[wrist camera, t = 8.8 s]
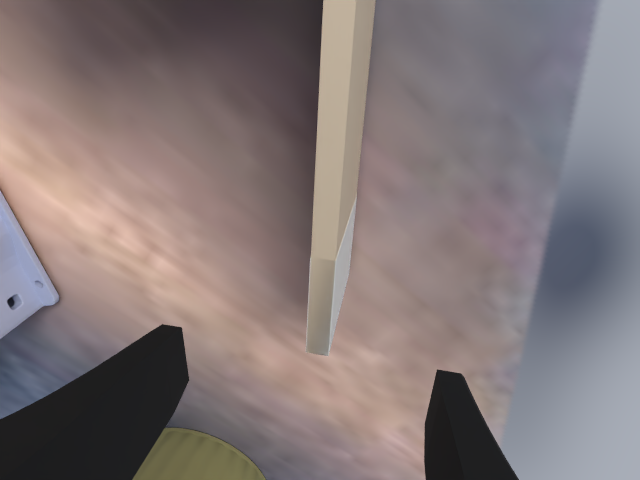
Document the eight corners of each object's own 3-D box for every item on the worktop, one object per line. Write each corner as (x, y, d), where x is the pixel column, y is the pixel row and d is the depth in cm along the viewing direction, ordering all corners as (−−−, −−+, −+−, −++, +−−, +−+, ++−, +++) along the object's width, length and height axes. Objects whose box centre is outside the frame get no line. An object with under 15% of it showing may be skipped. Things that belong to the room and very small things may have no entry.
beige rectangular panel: (384, -86, 14) (369, -149, 9) (349, 272, 21) (328, 356, 15) (359, -86, 14) (329, -149, 9) (332, 270, 21) (305, 352, 15)
